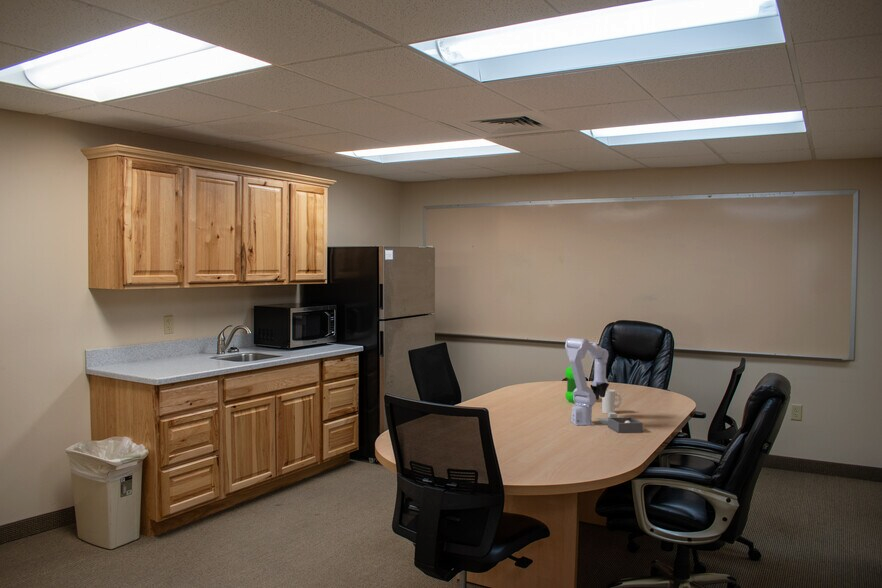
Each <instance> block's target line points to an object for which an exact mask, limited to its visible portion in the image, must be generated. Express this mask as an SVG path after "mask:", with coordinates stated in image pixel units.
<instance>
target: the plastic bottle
mask: <svg viewBox="0 0 882 588" xmlns="http://www.w3.org/2000/svg"><path fill="white" fill-rule="evenodd" d="M564 374H565V377H566V378H567V380H566V381H567V382H566V383H567V384H566V392H565V395H564V396H565V399H566V400H567V402H568V403H570V404H576V403H575V402H574V400H573V391H574V390H575V388H577V387H576V384H575V380H574V376H573V372H572V369H571V365H569V366H568V367H567V368H566V369H565V373H564Z"/></svg>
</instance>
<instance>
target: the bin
mask: <svg viewBox="0 0 882 588" xmlns="http://www.w3.org/2000/svg"><path fill="white" fill-rule="evenodd" d="M607 418H608V417H607ZM625 421H630V422H631V423H625ZM607 427H608V428H609V429H610V430H612V431H614V432H616V433H618V434H632V433H633V434H634V433H635V434H636V433H640V434H641V433H643V431H644V423H643V422H642V421H641V420H638V419H636V418H634V417H631V416H625V417H623V416H622V417H618V416H617V418H608V425H607Z"/></svg>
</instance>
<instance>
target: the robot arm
mask: <svg viewBox="0 0 882 588" xmlns="http://www.w3.org/2000/svg"><path fill="white" fill-rule="evenodd" d="M564 348H565V351H566V355H567V357H568V360H569V363H570V365H569V366H571V369H572V372H573V376H574V380H575V384H576V387H577V388H575V390H574V391H573V400H574V402H575V403H574V404H575V405H573V406H571V417H570V418H571V420H570V423H572V424H573V425H575V426H591V425H593V426H594V425H596V424H595V423H594V422H593V421H592V419H593V417H592V416H593V415H592V414H593V413H592V411H593V410H592V409H593V406H595V404H596V402H597V401H598V400H600V398H602V397H605V393H606V390H607V389H608V387H609V386H610V383H609V381H608V378H607V363H608V359H609V351H608V350H607V349H606V348H602V346H600V345H598V343H595V342H593V343H591V342H590V341H589V340H588V339H587V338H577V337H576V338H575V337H567V339H566V340H565V345H564ZM587 353H588V354H589V355H590V356H592V359H594V369H593V370H594V371H593V372H594V374H593V375H594V376H593V381H592V384H590V387H589V386H588V384H587V378H586V375H585V371H584V367H583V364H582V359H585V357H586V354H587Z"/></svg>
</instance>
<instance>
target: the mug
mask: <svg viewBox="0 0 882 588" xmlns="http://www.w3.org/2000/svg"><path fill="white" fill-rule="evenodd" d="M615 397H618V404H616V403H615V400H616V398H615ZM621 404H622V396H621V393H620V392H617V393H616V389H615V390H614V389H609V388H607V390H606V393H605V397H601V412H602V414H607V415H608V413H615V409H620V406H621Z"/></svg>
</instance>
